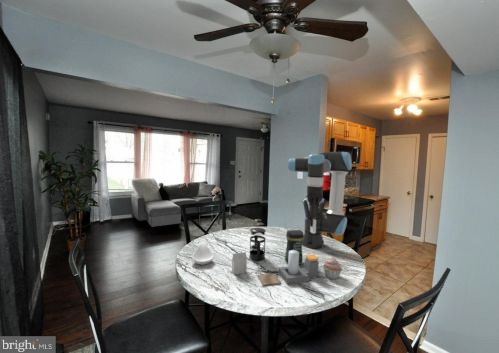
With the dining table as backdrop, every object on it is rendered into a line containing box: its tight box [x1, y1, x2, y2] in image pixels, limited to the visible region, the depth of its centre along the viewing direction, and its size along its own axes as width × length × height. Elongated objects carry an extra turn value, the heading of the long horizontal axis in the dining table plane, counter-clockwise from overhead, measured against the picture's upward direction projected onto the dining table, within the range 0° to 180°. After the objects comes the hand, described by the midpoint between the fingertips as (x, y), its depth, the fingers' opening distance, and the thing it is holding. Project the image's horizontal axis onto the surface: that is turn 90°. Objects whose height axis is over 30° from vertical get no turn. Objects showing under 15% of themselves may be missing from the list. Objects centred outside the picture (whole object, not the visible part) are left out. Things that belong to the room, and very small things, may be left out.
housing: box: [278, 257, 320, 285], centre depth 116 cm, size 18×11×8 cm, turn 104°
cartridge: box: [287, 250, 300, 275], centre depth 115 cm, size 5×5×13 cm
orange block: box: [304, 254, 319, 262], centre depth 117 cm, size 5×5×6 cm
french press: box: [249, 218, 266, 262], centre depth 137 cm, size 12×9×23 cm
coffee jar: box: [284, 229, 304, 265], centre depth 132 cm, size 10×8×19 cm
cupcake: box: [322, 256, 343, 280], centre depth 117 cm, size 9×9×10 cm
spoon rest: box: [191, 241, 215, 266], centre depth 135 cm, size 24×12×7 cm, turn 14°
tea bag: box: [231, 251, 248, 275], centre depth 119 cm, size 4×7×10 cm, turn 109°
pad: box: [257, 273, 282, 287], centre depth 112 cm, size 9×9×1 cm
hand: (312, 232), depth 116 cm, fingers closed
